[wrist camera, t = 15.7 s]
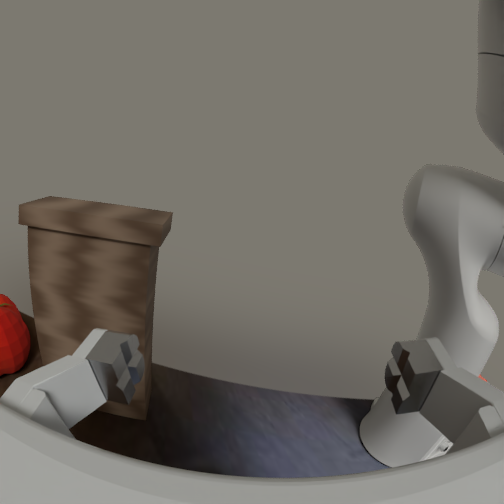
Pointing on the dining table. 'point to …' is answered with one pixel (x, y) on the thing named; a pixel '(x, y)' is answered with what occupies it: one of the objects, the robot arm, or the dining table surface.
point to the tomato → (12, 338)
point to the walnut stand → (94, 278)
